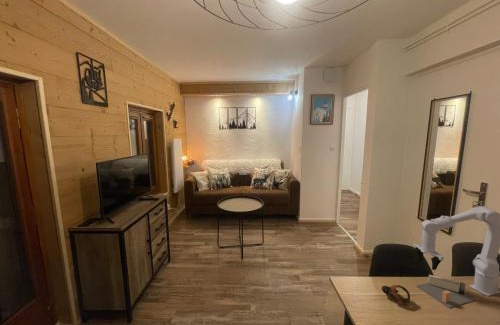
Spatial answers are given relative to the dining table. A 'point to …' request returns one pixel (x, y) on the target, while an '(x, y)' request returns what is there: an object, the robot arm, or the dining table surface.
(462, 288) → the gate post
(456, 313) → the dining table surface
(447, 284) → the bar
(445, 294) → the block
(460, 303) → the mat
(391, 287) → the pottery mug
